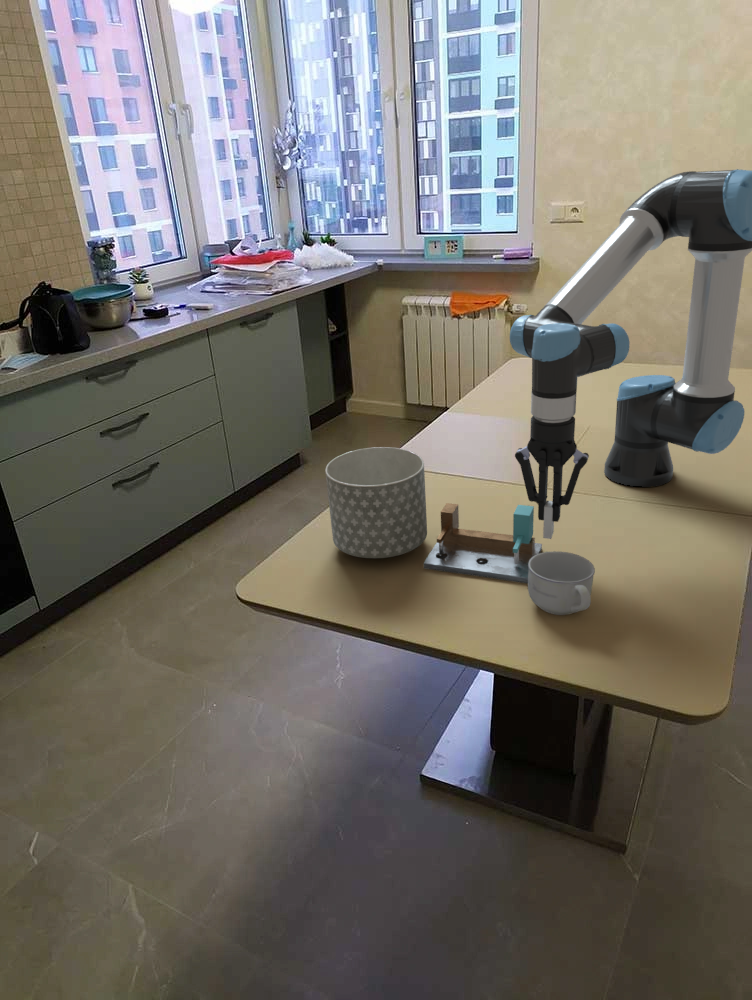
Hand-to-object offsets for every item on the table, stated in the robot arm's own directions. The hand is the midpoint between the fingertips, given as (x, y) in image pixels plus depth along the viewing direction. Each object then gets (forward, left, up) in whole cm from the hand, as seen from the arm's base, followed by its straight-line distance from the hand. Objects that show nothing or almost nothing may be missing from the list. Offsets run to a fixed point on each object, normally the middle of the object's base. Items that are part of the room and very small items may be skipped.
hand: (548, 535), depth 135 cm
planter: (+33, +4, -6) cm, 33 cm away
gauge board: (+12, +3, -5) cm, 13 cm away
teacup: (-5, +16, -6) cm, 18 cm away
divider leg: (+5, +3, -4) cm, 6 cm away
